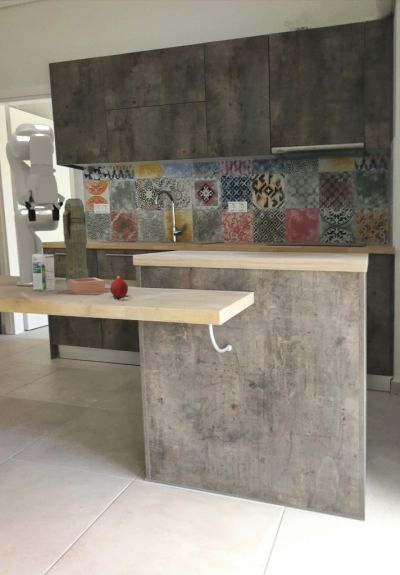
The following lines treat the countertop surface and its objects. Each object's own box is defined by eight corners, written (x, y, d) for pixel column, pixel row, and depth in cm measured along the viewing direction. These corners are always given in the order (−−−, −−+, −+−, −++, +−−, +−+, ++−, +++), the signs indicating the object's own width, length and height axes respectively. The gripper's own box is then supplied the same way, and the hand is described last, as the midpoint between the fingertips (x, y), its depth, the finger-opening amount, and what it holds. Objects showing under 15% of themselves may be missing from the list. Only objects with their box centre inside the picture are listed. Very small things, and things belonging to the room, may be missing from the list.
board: (75, 290, 205) (75, 287, 205) (119, 291, 201) (119, 288, 200) (51, 297, 188) (51, 293, 188) (98, 298, 183) (97, 295, 183)
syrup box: (33, 293, 197) (31, 254, 195) (44, 291, 203) (42, 253, 201) (44, 294, 195) (42, 254, 193) (56, 292, 200) (54, 253, 198)
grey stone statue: (59, 288, 211) (55, 198, 206) (76, 284, 222) (72, 199, 217) (78, 289, 208) (74, 198, 203) (94, 285, 219) (91, 198, 214)
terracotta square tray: (67, 290, 196) (67, 279, 195) (95, 288, 201) (94, 277, 201) (76, 293, 187) (75, 282, 186) (105, 291, 192) (104, 280, 192)
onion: (120, 297, 185) (119, 274, 184) (131, 299, 182) (131, 275, 181) (107, 299, 181) (106, 276, 180) (118, 301, 177) (118, 277, 176)
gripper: (56, 173, 193) (58, 220, 196) (13, 170, 180) (16, 221, 182) (69, 171, 189) (71, 220, 191) (26, 169, 175) (29, 221, 178)
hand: (44, 221), depth 187 cm, fingers open, 9 cm apart
